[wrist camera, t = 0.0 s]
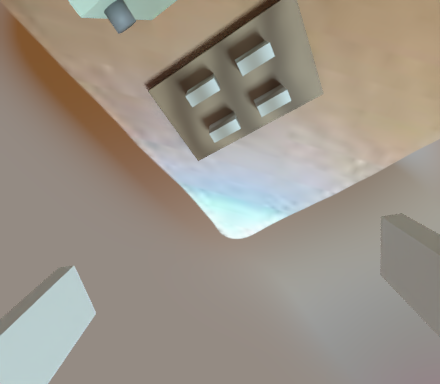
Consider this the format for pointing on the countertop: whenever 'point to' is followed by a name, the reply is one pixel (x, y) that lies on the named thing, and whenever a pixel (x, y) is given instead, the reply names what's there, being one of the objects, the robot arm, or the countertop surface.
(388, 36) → the countertop surface
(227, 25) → the countertop surface
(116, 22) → the door
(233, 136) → the hinge base
